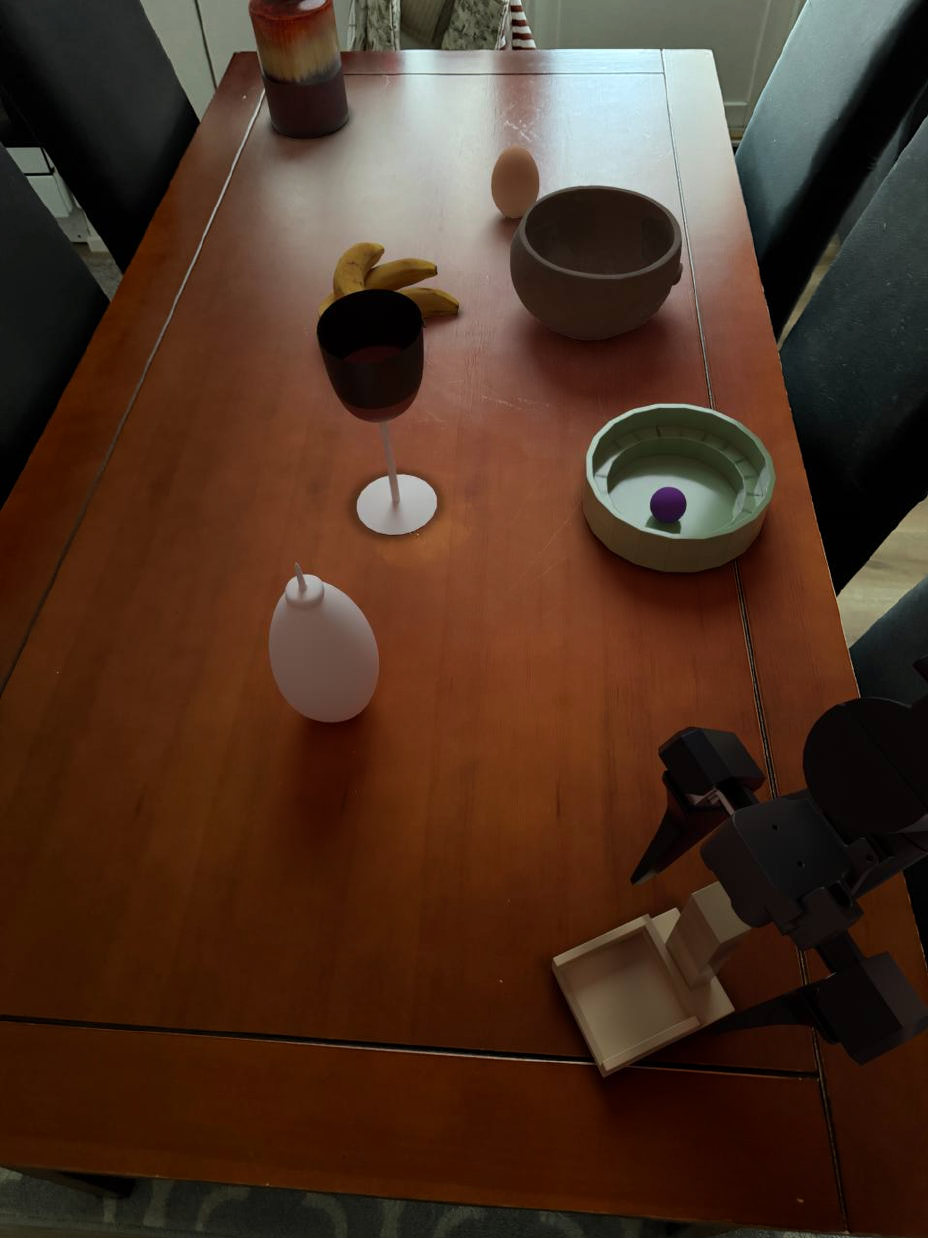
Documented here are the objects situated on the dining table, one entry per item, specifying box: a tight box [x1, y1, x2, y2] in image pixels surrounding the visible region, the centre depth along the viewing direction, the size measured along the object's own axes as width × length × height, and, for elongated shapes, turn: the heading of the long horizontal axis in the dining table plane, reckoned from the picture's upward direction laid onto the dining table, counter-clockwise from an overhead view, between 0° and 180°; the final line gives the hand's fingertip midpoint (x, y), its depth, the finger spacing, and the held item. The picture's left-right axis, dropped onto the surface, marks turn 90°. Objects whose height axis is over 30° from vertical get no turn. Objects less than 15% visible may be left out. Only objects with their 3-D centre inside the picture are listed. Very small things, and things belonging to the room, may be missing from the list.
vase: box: [247, 0, 350, 139], centre depth 117 cm, size 11×11×20 cm
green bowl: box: [581, 403, 777, 573], centre depth 81 cm, size 16×16×5 cm
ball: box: [650, 487, 687, 523], centre depth 80 cm, size 3×3×3 cm
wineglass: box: [316, 289, 438, 536], centre depth 76 cm, size 8×9×20 cm
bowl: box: [509, 184, 684, 341], centre depth 95 cm, size 17×18×10 cm
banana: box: [318, 241, 460, 329], centre depth 97 cm, size 15×19×6 cm
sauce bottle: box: [268, 562, 380, 723], centre depth 65 cm, size 8×8×18 cm
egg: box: [490, 145, 541, 219], centre depth 107 cm, size 6×6×8 cm
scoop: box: [551, 880, 752, 1078], centre depth 54 cm, size 10×7×13 cm
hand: (674, 952), depth 53 cm, fingers open, 9 cm apart
